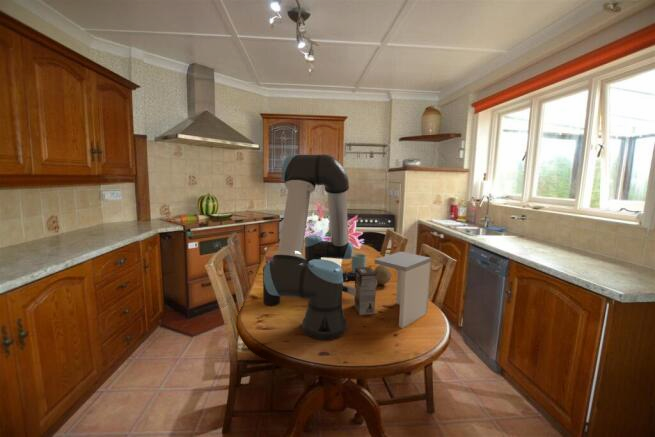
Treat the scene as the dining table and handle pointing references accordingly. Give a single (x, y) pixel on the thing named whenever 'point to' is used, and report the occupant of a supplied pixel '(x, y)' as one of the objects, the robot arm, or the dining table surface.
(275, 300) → the bottle
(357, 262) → the cup
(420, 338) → the dining table surface
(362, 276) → the coffee box
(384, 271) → the natural sponge
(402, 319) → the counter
